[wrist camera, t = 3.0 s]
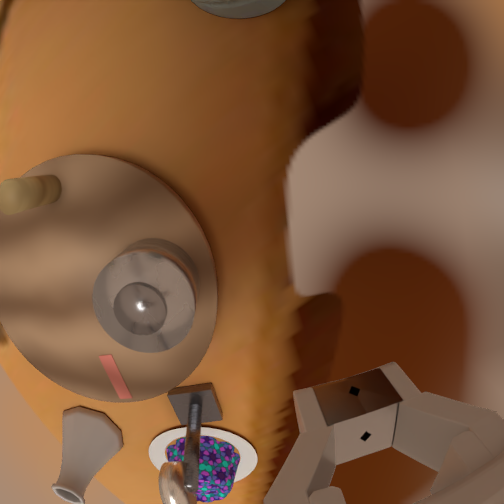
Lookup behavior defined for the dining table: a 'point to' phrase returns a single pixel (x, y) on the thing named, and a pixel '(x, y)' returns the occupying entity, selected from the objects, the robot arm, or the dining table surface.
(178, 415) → the grey knobbed rod
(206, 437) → the pudding
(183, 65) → the dining table surface
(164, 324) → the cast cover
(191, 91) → the dining table surface
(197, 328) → the turntable
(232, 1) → the grey green cup
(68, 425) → the flask
